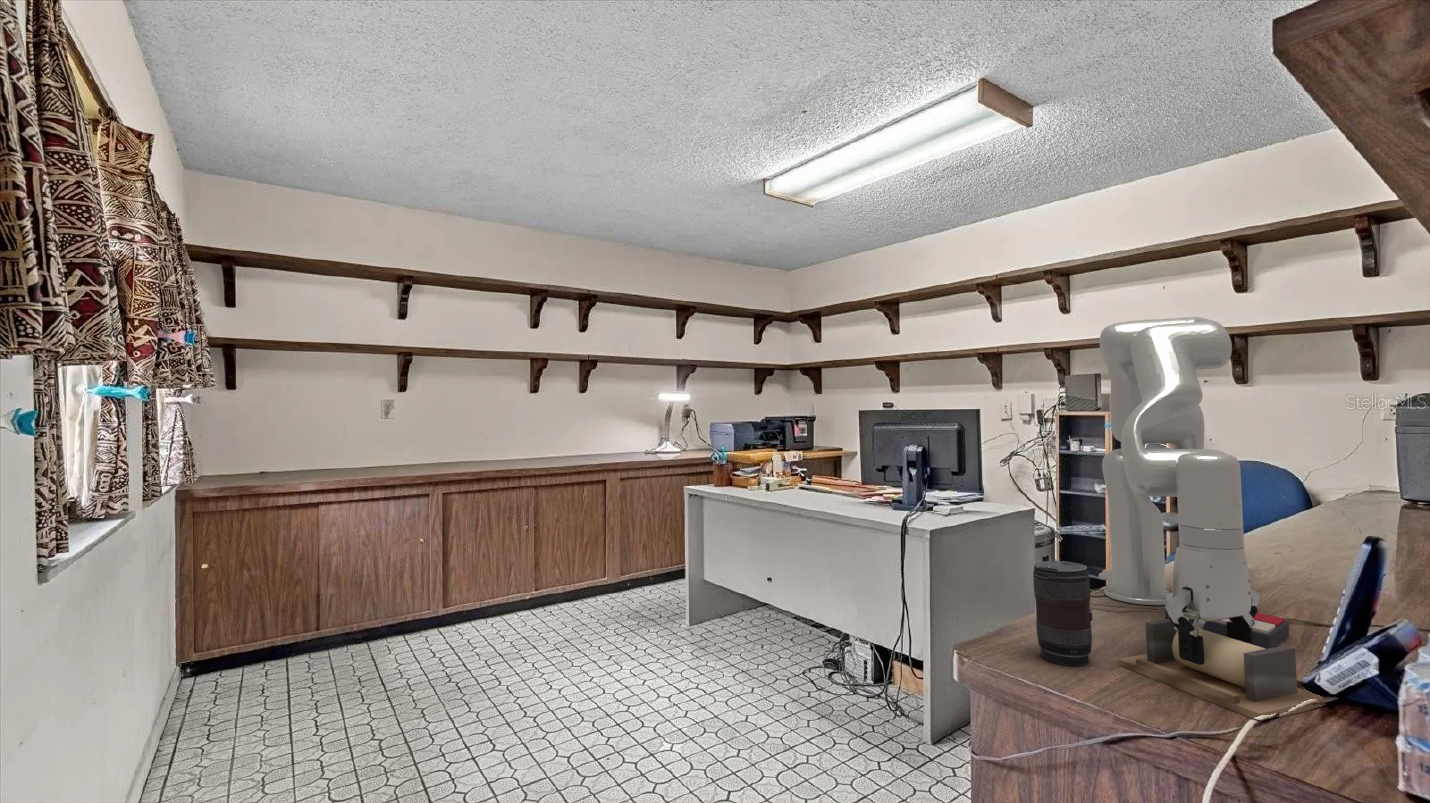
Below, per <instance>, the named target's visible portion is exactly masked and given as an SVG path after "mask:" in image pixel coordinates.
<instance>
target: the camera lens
mask: <svg viewBox="0 0 1430 803" xmlns="http://www.w3.org/2000/svg"><path fill="white" fill-rule="evenodd" d="M1032 576H1033V581H1032V582H1033V592H1034V593H1033V594H1034V597H1035V612H1036V621H1035V622H1036V623H1035V625H1036V626H1035V627H1036V637H1037V643H1038V645H1039V647H1040V651H1041V657H1042V658H1044V657H1045V658H1046V659H1048V660H1050V661H1049V662H1051V661H1053V662H1056V663H1055V664H1057V663H1058V664H1057V665H1061V664H1063V665H1062V666H1068V665H1081V666H1086V665H1087V664H1088V663H1089V655H1090V654H1091V653H1092V643H1093V632H1092V621H1093V610H1092V609H1091V607H1090V606H1091V605H1090V604H1091V603H1090V602H1091V583H1090V582H1091V581H1090V575H1089V572H1088V567H1087V565H1085V564H1082V563H1079V562H1078V563H1077V562H1072V561H1065V560H1063V561H1061V560H1046V561H1044V560H1043V561H1039V562H1035V563H1034V564H1033V572H1032ZM1045 658H1044V659H1045ZM1046 659H1045V660H1046ZM1048 660H1047V661H1048ZM1053 662H1052V663H1053Z"/></svg>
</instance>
